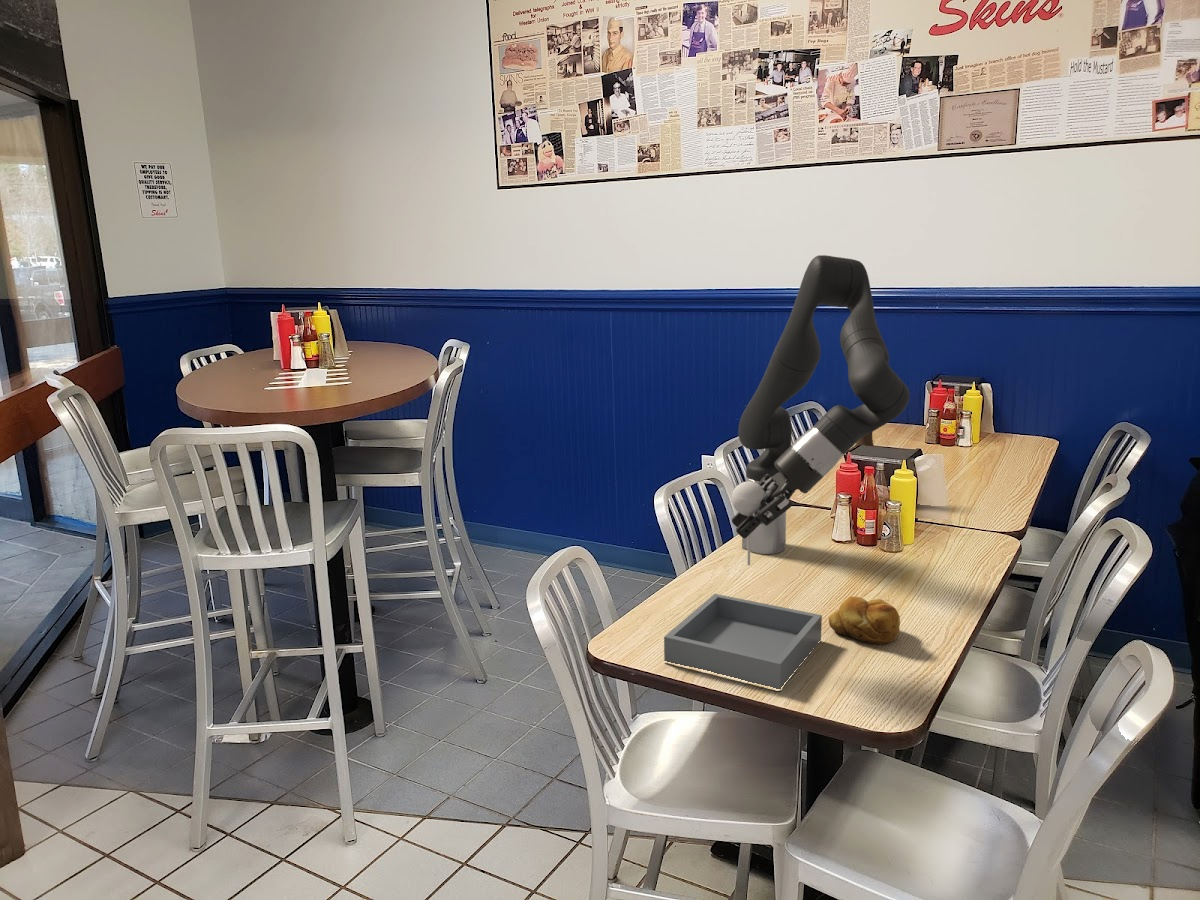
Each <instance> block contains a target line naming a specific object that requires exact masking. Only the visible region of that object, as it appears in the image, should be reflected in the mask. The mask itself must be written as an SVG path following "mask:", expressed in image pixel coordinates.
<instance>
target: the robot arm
mask: <svg viewBox="0 0 1200 900" xmlns="http://www.w3.org/2000/svg"><path fill="white" fill-rule="evenodd" d="M872 295H873V293H872V289H871V284H870V279H869V276H868V272H867V269H866V268H865V265H864V264H863V263H862V262H861V261H859V260H856V259H853V258H847V257H846V258H845V257H840V256H839V257H838V256H832V255H827V254H826V255H825V254H823V255H822V254H821V255H816V256H815V257H813V258H812V259H811V260H810V261H809V264H808V265H807V268H806V269H805V272H804V274H803V278H802V280H801V282H800V286H799V289H798V292H797V295H796V297H795V300H794V304H793V307H792V309H791V313H790V315H789V318H788V320H787V323H786V325H785V327H784V329H783V331H782V334H781V335H780V337H779V339H778V342H777V344H776V345H775V347H774V349H773V350H774V351H773V352H772V355H771V357H770V360H769V362H768V364H767V368H766V369H765V371H764V374H763V377H762V378H761V380H760V382H759V385H758V386H757V389H756V390H755V392H754V394H753V395H752V397H751V399H750V400H749V402H748V404H747V406H746V407H745V409H744V411H743V412H742V414H741V417H740V420H739V423H738V434H737V435H738V439H739V442H740V444H741V446H743V447H744V448H746V449H748V450H755V451H758V450H763V452H762V453H761V454H760V455H759V456H758V457H756V458H755V459H753V460H751V461H749V462H748V464H747V465H746V469H745V482H747V481H751V482H755V483H757V484H759V485H760V486H761V487H762V488H763V489H764V491H765V493H764V496H763V498H762V500H761V501H760V506H759V507H758V508H757V509H756V510H755V511H753V512H752V514H751V515H749V516H746V515H743V514H741V513H739V512H738V511H737V513H736V514H735V515H734V516H733V517H732V518H731V522H732V524H733V525H734V526H735V527H736V529H735V532H736V534H738V535H739V536H740V537H741V538H742V539H741V540H742V541H741V542H742V543H741V548H742V549H746V550H748V536H749V535H750V552H752V553H756V554H761V555H763V554H764V555H770V554H772V555H774V554H778V553H781V552H784V551H785V550H786V542H787V541H786V540H787V538H786V535H787V533H786V532H787V511H788V510H789V509H790V508H791V507H792V506H793V503H792V502H791V501H790V499H791V497H792V496H793V495H794V494H795V492H796V491H797V490H799V491H800V492H801V493H802V494H807V493H808V492H809V491H811V490H812V489H813V488H814V487H815V486H816V484H818V483H819V482H820V481H821V480H822V479H823V478H824V477H825V476H826V475H827V474H828V473H829V472H830V471H831V470H832V469H833V468H834V467H836V465H837V464H838V462H839V461H840V460H841V458H843V457H844V455H845V454H846V453H848V451H849V450H850V449H852V448H853V447H854V446H855V445H856V443H857V442H858V440H859V439H861V438H862V437H864V436H865V435H867V434H869V433H871V432H872V433H873V432H874V431H876V430H877V429H880V428H881V427H883V426H885V425H887V424H888V423H891V421H893V420H895V419H896V418H898V417H899V415H901V414H902V413H903V412H904V411H905V410H906V408H907V406H908V404H909V402H910V398H911V395H910V394H911V391H910V389H909V387H908V386H907V385H906V383H905V382H904V381H903V380H902V378H900V377H899V375H898V374H897V373H896V372H895V371H894V370H893V368H892V367H891V366H890V365H889V362H890V354H889V350H888V347H887V345H886V343H885V341H884V339H883V336H882V334H881V332H880V328H879V326H878V323H877V318H876V313H875V307H874V300H873V296H872ZM821 305H823V306H829V307H837V308H847V309H848V310H849V311H850V314H849V316H848V317H847V318H846V320H845V322H844V324H843V325H842V327H841V330H840V336H839V342H840V347H841V350H842V353H843V355H844V358H845V361H846V363H847V378H848V383H849V385H850V387H851V389H852V392H853V393H854V396H856V397H857V398H858V399H859V400H860V401H861V403H863V404H861V405H859V406H857V407H855V408H854V409H849V408H848V407H846V406H844V405H840V404H837V405H835V406H833V407H832V408H830V409H829V410H828V411H826V413H825V414H824V415H823V416H822V417H821V418H820V419H818V420H817V422H816V423H815V424H814V425H813V426H812V427H810V428H809V429H808V430H806V431H805V432H804V433H802V435H800V436H799V437H798V439H796V440H795V441H794V442H793V443H792V437H793V436H792V435H793V429H792V427H793V425H792V420H791V416H790V413H789V412H788V411H787V410H786V408H785V407H782V405H784V404H785V403H786V402H787V401H788V400H790V399H791V398H792V397H794V396H795V395H797V393H799V392H800V391H801V390H802V389H803V388H804V387H805V386H806V385H808V382H809V381H810V380H811V378H812V377H813V374H814V372H815V370H816V367H817V366H818V364H819V362H820V359H821V354H822V351H821V345H820V341H819V338H818V334H817V331H816V328H815V325H814V319H813V318H814V314H815V311H816V309H817V308H818V306H821Z"/></svg>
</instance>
